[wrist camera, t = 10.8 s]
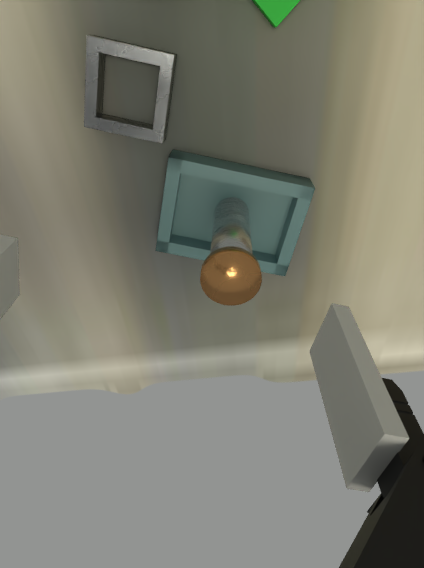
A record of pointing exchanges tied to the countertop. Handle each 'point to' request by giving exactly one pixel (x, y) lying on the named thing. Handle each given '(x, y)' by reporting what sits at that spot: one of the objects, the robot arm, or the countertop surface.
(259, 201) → the tray
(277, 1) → the mechanical part
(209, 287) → the pin
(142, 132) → the grey metal square frame
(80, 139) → the countertop surface
